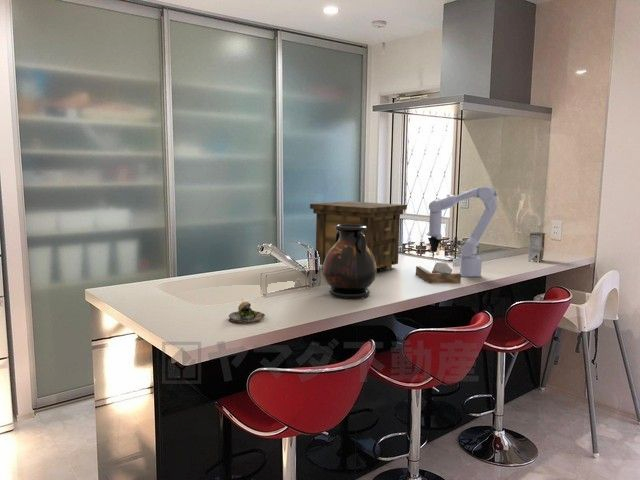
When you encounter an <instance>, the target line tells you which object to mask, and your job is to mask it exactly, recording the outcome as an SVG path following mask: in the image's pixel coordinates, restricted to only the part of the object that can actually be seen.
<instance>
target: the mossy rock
mask: <svg viewBox="0 0 640 480" xmlns="http://www.w3.org/2000/svg"><path fill="white" fill-rule="evenodd" d="M241 301H242V302H241V303H239V305H238V308H237V311H235V312H231V313H230V314H229V315H228V322H229V323H231V324H234V325H237V324H238V323H239V322H240V323H252V322H253V323H254V322H257V321H260V320H262V319H263V318H264V317H265V316H266V314H265V313H264V312H263V313H262V312H260V311H256V310H253V309H252V308H251V307H252V304H251V303H250V302H248V301H244V300H243V299H241Z"/></svg>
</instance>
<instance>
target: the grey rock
mask: <svg viewBox="0 0 640 480" xmlns="http://www.w3.org/2000/svg"><path fill="white" fill-rule="evenodd" d="M440 272H450V273H453V269H452V268H451V266H450V265H449V264H448V263H447V262H446V261H445V262H441V261H439V262H435V264H434V266H433V268H432V270H431V273H440Z"/></svg>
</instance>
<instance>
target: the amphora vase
mask: <svg viewBox="0 0 640 480" xmlns="http://www.w3.org/2000/svg"><path fill="white" fill-rule="evenodd" d="M335 229H337V230H338V232H337V234H336V239H335V244H334V245H333V247H332V248H331V249H330V250H329V251H328V253H327V255H326V257H325V260H324V264H323V269H322V275H323V278H324V280H325V282H326V283H327V284H328V285H329V286H330V288H329V289H328V294H329V295H330V296H333V297H335V298H338V299H343V300H344V299H345V300H358V299H359V300H360V299H364V298H367V297H368V296H369V295H370V293H371V292H370V289H369V287H371V285H372V284H373V283H374V281H375V280H376V278H377V272H378V268H377V267H376V261H375V258H374V255H373V253H372V252H371V250H370V249H369V248H368V247H367V244H366V238H365V236H364V235H363V234H362V232H363V231H364V230H366V229H367V227H366V226H364V225H357V224H340V225H336V226H335Z"/></svg>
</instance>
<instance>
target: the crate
mask: <svg viewBox="0 0 640 480" xmlns="http://www.w3.org/2000/svg"><path fill="white" fill-rule="evenodd" d="M407 206H408V205H407V204H400V203H399V204H396V203H382V202H381V203H380V202H364V201H352V200H351V201H350V200H349V201H336V202H333V201H332V202H319V203H310V204H309V209H310V210H312V211H313V214H316V216H315V217H316V218H315V220H316V225H315V231H316V232H315V251H316V250H317V251H318V254H319V257H320V265H319V266H321V269H322V270H323V264H324V260H325V257H326V255H327V253H328V251H329V250H330V249H331V248H332V247H333V245H334V244H335V239H336V234H337V232H338V230H337V229H335V226H336V225H340V224H357V225H364V226H366V227H367V229H366V230H364V231H363V232H362V234H363V235H364V236H365V238H366V244H367V247H368V248H369V249H370V250H371V252H372V253H373V255H374V258H375V261H376V267H377V269H381V268H385V269H384V270H389V269H388V268H390V269H392V268H393V266H394V265H398V264H399V252H400V251H399V250H400V247H399V246H400V224H401V223H400V221H401V215H404V211H406V210H407Z"/></svg>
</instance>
